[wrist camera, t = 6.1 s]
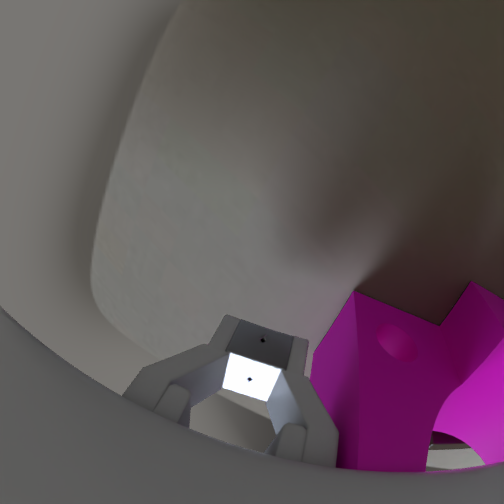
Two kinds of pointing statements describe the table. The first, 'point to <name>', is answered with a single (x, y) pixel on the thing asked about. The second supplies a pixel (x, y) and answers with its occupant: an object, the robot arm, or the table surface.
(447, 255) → the table surface
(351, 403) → the toy block
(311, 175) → the table surface
